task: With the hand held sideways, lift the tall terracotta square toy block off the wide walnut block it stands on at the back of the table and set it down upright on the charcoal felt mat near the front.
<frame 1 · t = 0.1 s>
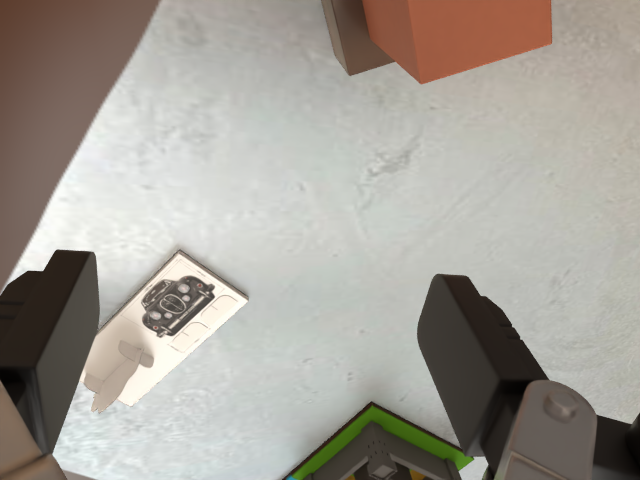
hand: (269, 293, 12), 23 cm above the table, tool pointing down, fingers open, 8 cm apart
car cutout: (154, 331, 41), on the table
castle model: (373, 469, 54), on the table
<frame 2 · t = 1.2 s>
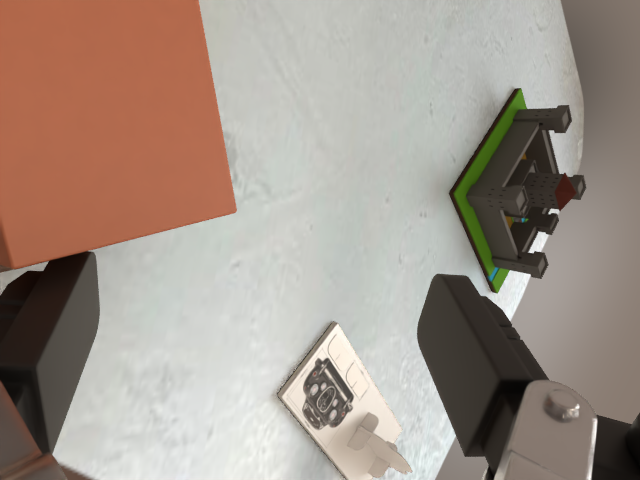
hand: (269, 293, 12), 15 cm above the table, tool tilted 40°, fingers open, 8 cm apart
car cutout: (344, 412, 41), on the table
top block: (5, 151, 17), point 5 cm above the table, tilted 6°, touching base block, gripper
castle model: (501, 193, 54), on the table
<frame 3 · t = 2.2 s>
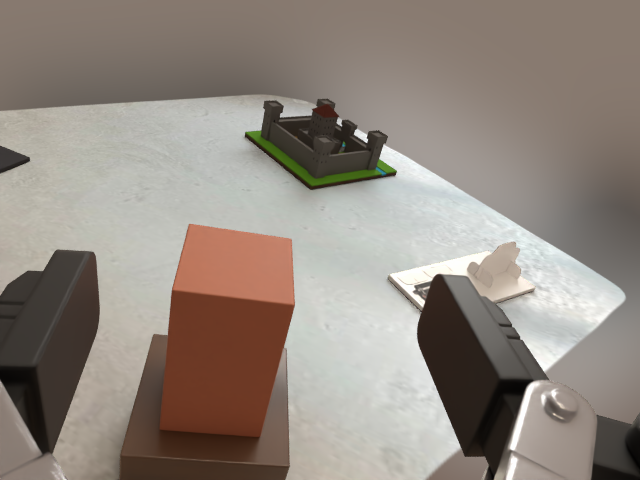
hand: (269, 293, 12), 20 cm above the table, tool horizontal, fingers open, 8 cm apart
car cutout: (463, 286, 52), on the table
base block: (205, 449, 30), on the table, touching top block
top block: (215, 393, 28), point 5 cm above the table, touching base block
castle model: (320, 156, 70), on the table
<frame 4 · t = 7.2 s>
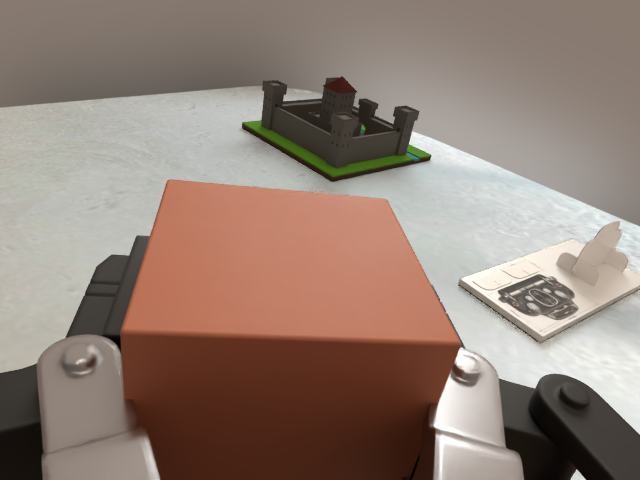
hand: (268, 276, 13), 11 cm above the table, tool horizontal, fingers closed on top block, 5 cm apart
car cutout: (556, 286, 38), on the table
castle model: (336, 145, 57), on the table
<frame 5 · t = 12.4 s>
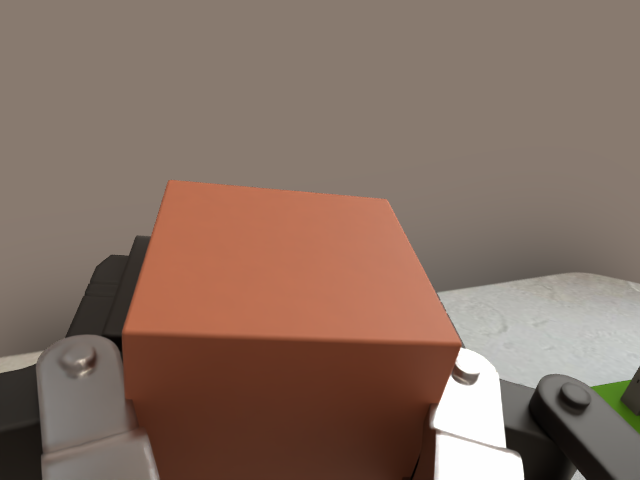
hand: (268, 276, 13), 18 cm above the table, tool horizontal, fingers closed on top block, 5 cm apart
when the fingers open (7 cm above the table, at t = 18.0 s): top block stays where it is, resting on felt mat.
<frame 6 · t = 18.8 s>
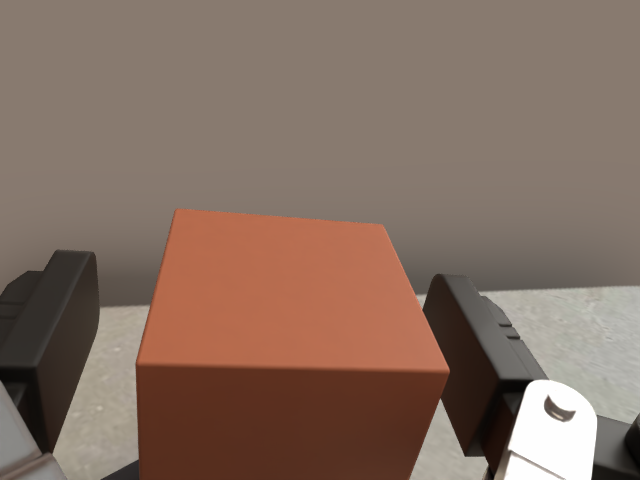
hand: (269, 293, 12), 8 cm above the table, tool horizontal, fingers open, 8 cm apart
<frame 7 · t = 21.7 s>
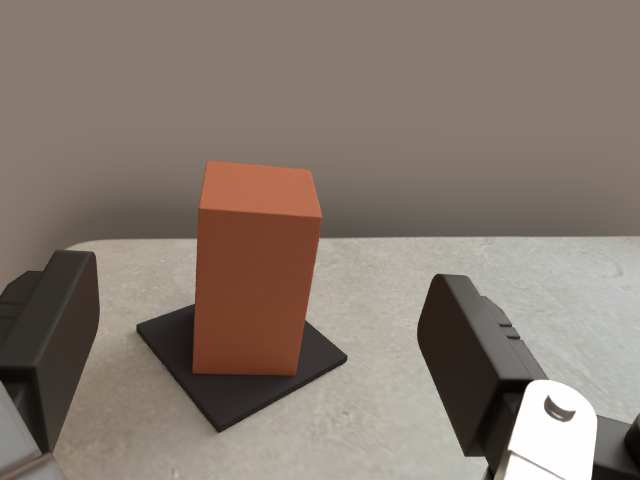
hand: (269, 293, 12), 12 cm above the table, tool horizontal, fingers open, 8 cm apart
felt mat: (242, 346, 27), on the table
top block: (245, 340, 27), resting on felt mat
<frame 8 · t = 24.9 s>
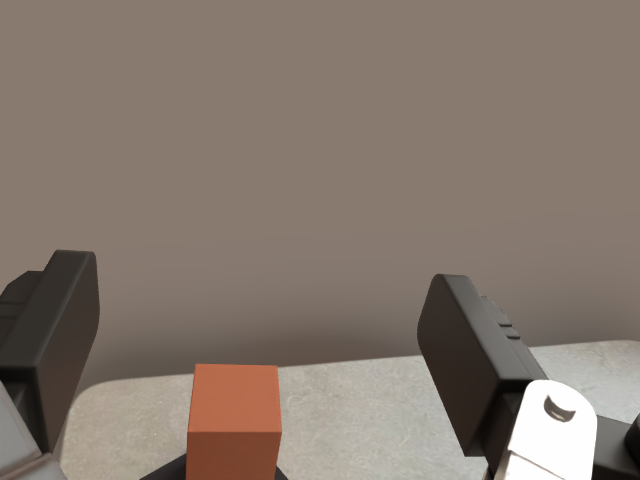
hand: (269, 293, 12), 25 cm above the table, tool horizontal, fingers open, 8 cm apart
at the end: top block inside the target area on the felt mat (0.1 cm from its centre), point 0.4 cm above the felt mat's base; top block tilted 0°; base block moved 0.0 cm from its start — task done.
